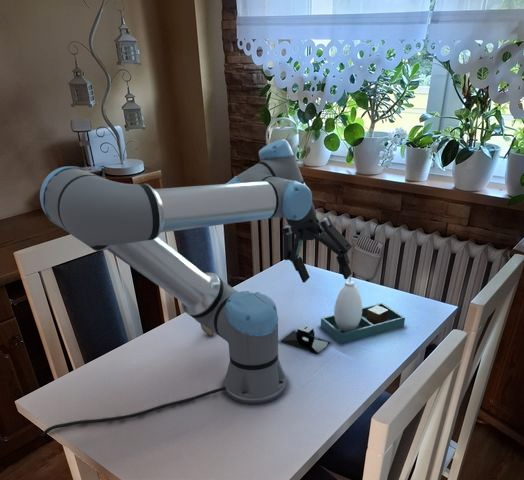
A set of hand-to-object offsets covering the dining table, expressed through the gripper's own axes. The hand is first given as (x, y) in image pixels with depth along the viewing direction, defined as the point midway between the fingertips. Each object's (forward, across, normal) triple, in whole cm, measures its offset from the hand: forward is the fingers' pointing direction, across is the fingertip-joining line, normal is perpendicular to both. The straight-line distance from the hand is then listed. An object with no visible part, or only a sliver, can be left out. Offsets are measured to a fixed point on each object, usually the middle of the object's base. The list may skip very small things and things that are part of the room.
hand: (326, 278), depth 130 cm
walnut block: (+23, -2, -11) cm, 26 cm away
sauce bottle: (+20, +2, -2) cm, 20 cm away
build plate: (+15, +8, +9) cm, 20 cm away
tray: (+22, 0, -7) cm, 22 cm away
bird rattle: (+5, +33, +18) cm, 38 cm away
